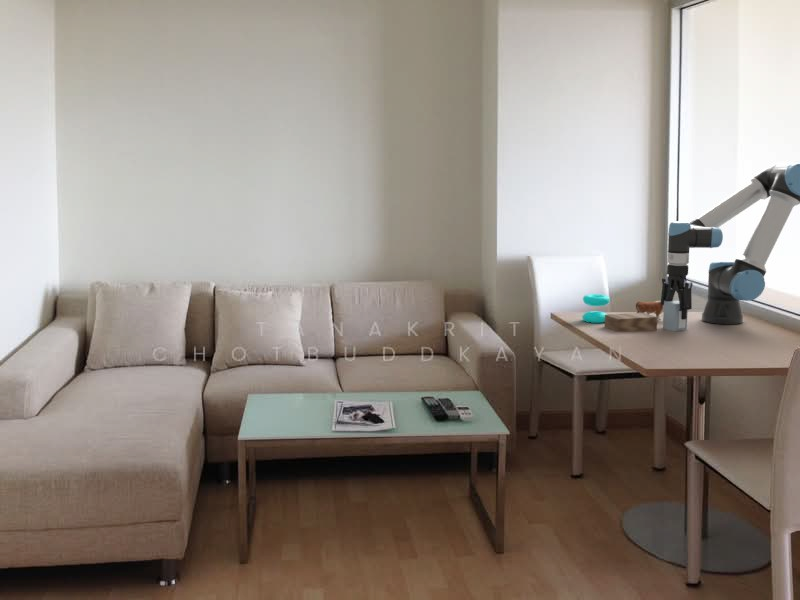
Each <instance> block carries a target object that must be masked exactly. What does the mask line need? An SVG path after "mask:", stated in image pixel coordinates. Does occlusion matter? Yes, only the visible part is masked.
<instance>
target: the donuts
mask: <svg viewBox="0 0 800 600" xmlns="http://www.w3.org/2000/svg"><path fill="white" fill-rule="evenodd" d="M582 300H583V303H584V304H586V305H588V306H590V307H591V306H592V307H604V306H607V305H608V304H609V303H610V300H611V299H610V297H609V296H607V295H604V294H593V293H591V294H587V295H586V294H585V295H584V296H583V298H582ZM607 314H608V313H605V312H604V311H599V310H598V311H595V310H593V311H591V310H590V311H587V312H586V311H585V312H584V314H582V316H581V317H582V321H584V322H585V321H586V323H589V322H591V324H605V323H604V322H605V315H607Z"/></svg>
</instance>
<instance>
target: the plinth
mask: <svg viewBox="0 0 800 600" xmlns="http://www.w3.org/2000/svg"><path fill="white" fill-rule="evenodd" d="M606 314H607V315H605V323H603V324H604V325H603V327H604V328H607V329H609V330H611V331H615V332H617V333H618V332H620V333H621V332H634V331H635V332H637V331H655V330H656V331H657V330H658V329H657V328H658V321H657V317H656V315H652V314H647V313H646V312H645V313H637V312H632V313H631V312H629V313H613V314H612V313H611V314H608V313H606Z"/></svg>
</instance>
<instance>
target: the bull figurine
mask: <svg viewBox="0 0 800 600" xmlns="http://www.w3.org/2000/svg"><path fill="white" fill-rule="evenodd" d="M635 309H636V311H637V312H636V313H646V314H649V315H651V314H655V317H657V322H658V321H661V320H662V319H661V317H660V315H661V314H663V313H664V305H661V299H660V300H656V301H637V302H636V304H635Z"/></svg>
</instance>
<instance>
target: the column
mask: <svg viewBox="0 0 800 600" xmlns="http://www.w3.org/2000/svg"><path fill="white" fill-rule="evenodd" d="M679 310H680V303H679V300H673V301H665V302H664V312H663V313H662V314H663V315H662V318H663V319H662V329H665V330H669V331H673V332H677V331H687V330H688V328H687V327H688V317H687V318H686V321H685V328H678V318H679ZM688 311H689V310H687V315H688V313H689V312H688Z"/></svg>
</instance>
